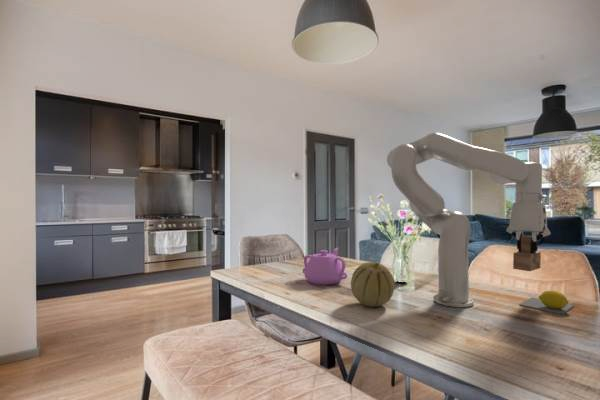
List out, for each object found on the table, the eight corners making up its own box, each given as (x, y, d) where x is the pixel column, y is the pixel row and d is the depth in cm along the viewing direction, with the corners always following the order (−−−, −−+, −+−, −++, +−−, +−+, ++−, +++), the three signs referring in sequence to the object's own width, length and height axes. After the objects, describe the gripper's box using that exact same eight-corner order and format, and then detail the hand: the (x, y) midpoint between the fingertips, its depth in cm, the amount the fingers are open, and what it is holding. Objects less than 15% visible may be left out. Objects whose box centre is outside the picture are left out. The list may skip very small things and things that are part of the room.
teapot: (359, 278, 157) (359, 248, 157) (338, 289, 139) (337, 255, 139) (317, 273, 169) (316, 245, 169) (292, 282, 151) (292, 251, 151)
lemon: (540, 306, 116) (570, 311, 110) (535, 305, 113) (566, 310, 107) (541, 289, 117) (571, 294, 111) (536, 287, 114) (567, 292, 108)
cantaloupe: (366, 296, 128) (366, 256, 128) (403, 305, 118) (402, 261, 118) (341, 305, 118) (341, 261, 118) (378, 316, 107) (378, 267, 107)
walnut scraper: (524, 265, 125) (524, 234, 124) (540, 267, 121) (541, 236, 121) (513, 268, 118) (513, 236, 118) (530, 271, 114) (530, 237, 114)
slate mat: (563, 314, 107) (562, 313, 107) (519, 305, 116) (519, 304, 116) (573, 306, 115) (573, 305, 115) (532, 298, 124) (531, 297, 124)
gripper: (560, 199, 115) (559, 254, 115) (506, 198, 128) (505, 248, 128) (553, 198, 111) (551, 256, 111) (498, 198, 123) (497, 250, 123)
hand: (527, 251), depth 119 cm, fingers closed on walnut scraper, 3 cm apart
